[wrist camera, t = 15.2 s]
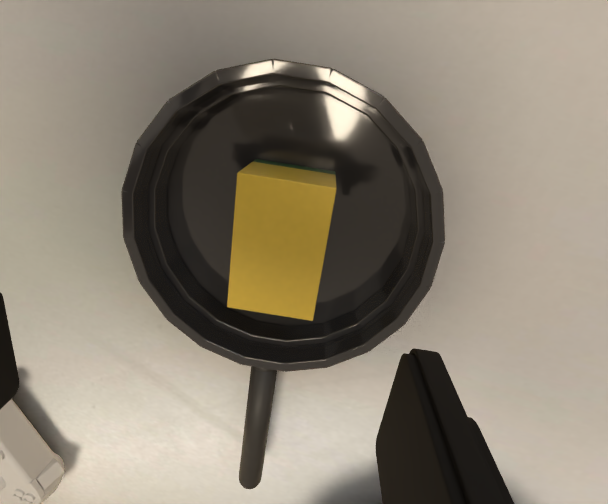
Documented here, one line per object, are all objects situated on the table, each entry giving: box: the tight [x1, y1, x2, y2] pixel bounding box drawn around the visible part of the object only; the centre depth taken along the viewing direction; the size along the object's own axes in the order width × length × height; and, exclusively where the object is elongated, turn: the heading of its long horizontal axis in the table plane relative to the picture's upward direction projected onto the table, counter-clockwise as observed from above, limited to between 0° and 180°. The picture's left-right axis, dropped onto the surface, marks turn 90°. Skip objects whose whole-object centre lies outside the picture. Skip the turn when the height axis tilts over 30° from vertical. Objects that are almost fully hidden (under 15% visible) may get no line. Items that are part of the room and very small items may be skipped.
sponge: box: [227, 159, 337, 321], centre depth 20 cm, size 7×4×4 cm, turn 172°
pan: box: [122, 59, 445, 372], centre depth 21 cm, size 16×16×4 cm
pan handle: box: [239, 366, 277, 489], centre depth 25 cm, size 12×2×2 cm, turn 172°
